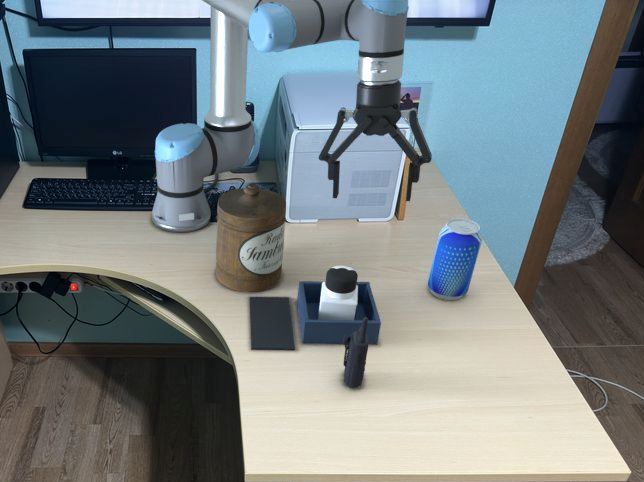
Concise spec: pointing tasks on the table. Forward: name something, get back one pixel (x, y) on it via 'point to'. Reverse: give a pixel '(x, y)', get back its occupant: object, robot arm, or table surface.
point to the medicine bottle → (339, 294)
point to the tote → (335, 329)
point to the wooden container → (250, 238)
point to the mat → (271, 324)
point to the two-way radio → (356, 355)
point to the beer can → (454, 259)
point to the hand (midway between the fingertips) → (371, 197)
